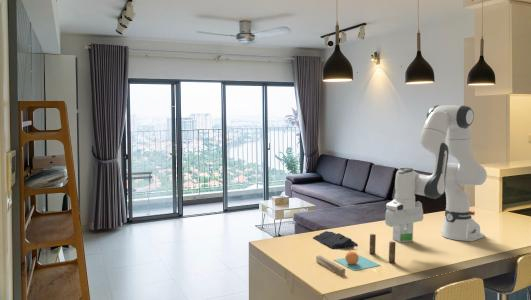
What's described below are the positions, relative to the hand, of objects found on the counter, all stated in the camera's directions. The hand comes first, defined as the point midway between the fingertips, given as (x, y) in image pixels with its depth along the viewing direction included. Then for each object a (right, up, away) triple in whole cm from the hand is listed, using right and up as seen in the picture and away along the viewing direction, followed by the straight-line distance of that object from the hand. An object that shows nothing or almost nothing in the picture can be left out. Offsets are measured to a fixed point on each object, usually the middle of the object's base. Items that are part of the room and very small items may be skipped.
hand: (404, 232), depth 193 cm
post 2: (-9, -11, -11) cm, 18 cm away
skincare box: (+6, -8, +21) cm, 23 cm away
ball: (-27, -8, -14) cm, 32 cm away
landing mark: (-25, -11, -12) cm, 29 cm away
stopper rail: (-37, -11, -18) cm, 43 cm away
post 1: (-15, -10, 0) cm, 18 cm away
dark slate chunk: (-30, -9, +18) cm, 36 cm away
